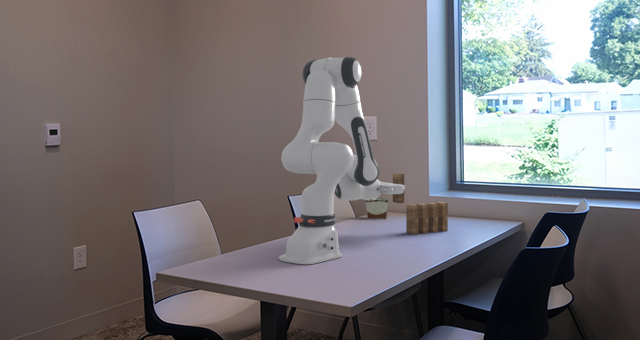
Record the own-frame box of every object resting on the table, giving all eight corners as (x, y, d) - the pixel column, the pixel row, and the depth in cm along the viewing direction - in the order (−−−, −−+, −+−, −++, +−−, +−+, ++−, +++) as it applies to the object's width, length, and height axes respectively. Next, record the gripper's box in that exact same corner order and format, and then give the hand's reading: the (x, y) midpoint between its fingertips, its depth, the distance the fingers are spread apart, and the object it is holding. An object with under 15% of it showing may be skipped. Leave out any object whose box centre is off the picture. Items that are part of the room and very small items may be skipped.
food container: (389, 217, 265) (389, 197, 264) (389, 219, 259) (389, 198, 258) (364, 217, 266) (364, 197, 266) (364, 219, 260) (364, 198, 260)
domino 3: (423, 233, 221) (423, 204, 220) (416, 231, 225) (416, 203, 224) (428, 233, 222) (428, 204, 221) (421, 231, 226) (421, 203, 225)
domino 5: (443, 231, 225) (443, 203, 224) (435, 229, 229) (435, 202, 228) (447, 231, 226) (447, 203, 225) (440, 229, 230) (440, 201, 229)
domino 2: (413, 234, 218) (413, 205, 218) (406, 232, 223) (406, 204, 222) (418, 234, 219) (418, 205, 219) (411, 232, 224) (411, 204, 223)
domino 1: (399, 203, 218) (399, 174, 217) (392, 202, 222) (392, 173, 221) (404, 202, 219) (404, 173, 218) (397, 201, 223) (397, 173, 222)
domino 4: (433, 232, 223) (433, 204, 222) (426, 230, 227) (426, 202, 226) (438, 232, 224) (438, 203, 223) (430, 230, 228) (430, 202, 227)
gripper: (384, 182, 205) (414, 180, 211) (359, 178, 223) (387, 177, 229) (384, 198, 205) (414, 196, 211) (359, 193, 224) (387, 192, 230)
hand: (400, 186), depth 220 cm, fingers closed on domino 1, 5 cm apart
